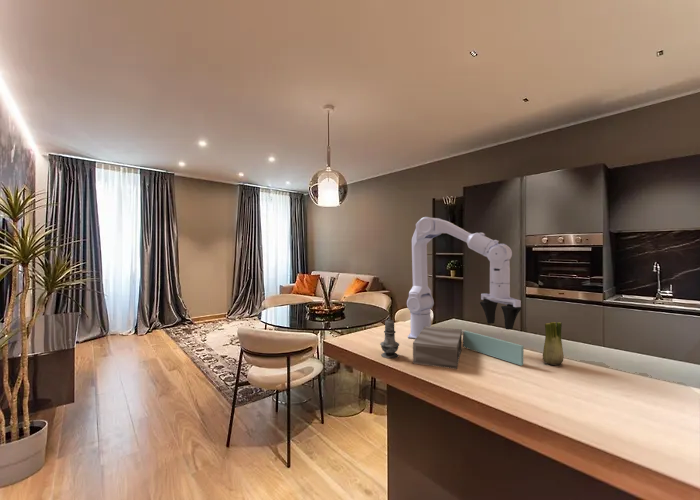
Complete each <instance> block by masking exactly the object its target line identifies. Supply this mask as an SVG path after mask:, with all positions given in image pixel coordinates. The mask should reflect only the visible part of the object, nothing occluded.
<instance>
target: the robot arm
mask: <svg viewBox="0 0 700 500" xmlns="http://www.w3.org/2000/svg"><path fill="white" fill-rule="evenodd" d="M442 234H447V235H450V236H452V237H454V238H455V239H459V240H461V241H463V242H464V243H466V244H467V247H468V249H470V250H471V251H474V252H475V253H478V254H480V255H481V256H483V257H486V258H487V260H488V261H489V293H487V292H486V293H481V294H480V301H479V304H480V306H481V307H482V309H483V311H484V315H485V318H486V322H487V324H490V325H492V324H495V321H496V311H497V306H498V304H502V306H501V310H502V312H503V319H504V329H505V330H507V331H508V330H513V328H514V325H515V322H516V319H517V316H518V315H519V313H520V312H521V310H522V303H521V302H522V300H520V299H516V298H515V297H511V285H510V284H511V266H510V263H511V262H510V261H511V258H512V257H513V251H512V249H511V247H509V245H507V244H506V243H499V242H500V240H497V239H491V238H490V237H487V236H486V233H484V232H475V233H472V232H470V231H466V230H465V229H464V228H462V227H459V226H458V225H456V224H454V223H452V222H451V221H448V220H445V219H442V218H439V217H429V216H424V217H421V218H420V219H419V220H418V221H417V222H416V223H415V229H414V232H413V235H412V237H411V261H412V262H411V269H412V287H411V288H410V290H409V292H408V297H407V300H406V306H407V309H408V311H409V313H410V333H409V334H408V335H407V338H408V339H414V340H415V339H416V338H417V336H418V335H419V334H420V332H421V331H422V329H423V328H424V327H425V326H429V327H432V317H431V310H432V308H433V307H434V305H435V302H434V298H433V295H432V289H430V287H429V285H428V284H429V283H428V282H429V281H428V280H429V279H428V247H427V246H428V243H430V241H432V240H433V238H436V237H438V236H440V235H442ZM481 300H482V301H481Z"/></svg>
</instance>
